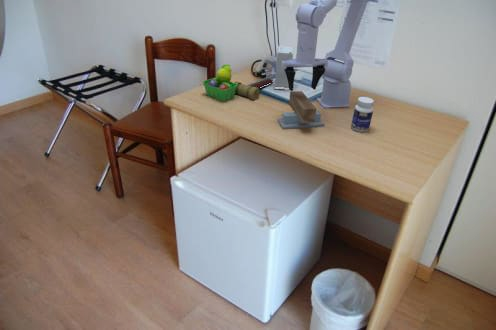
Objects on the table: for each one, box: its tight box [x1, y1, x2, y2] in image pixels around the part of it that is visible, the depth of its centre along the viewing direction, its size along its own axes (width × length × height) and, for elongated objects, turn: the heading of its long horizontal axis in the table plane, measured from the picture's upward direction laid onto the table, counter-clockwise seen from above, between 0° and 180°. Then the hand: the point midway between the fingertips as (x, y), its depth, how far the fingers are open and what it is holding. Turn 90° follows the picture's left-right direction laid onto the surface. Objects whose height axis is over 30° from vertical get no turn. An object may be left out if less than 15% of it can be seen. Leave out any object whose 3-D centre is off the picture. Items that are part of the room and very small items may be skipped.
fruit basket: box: [202, 63, 238, 102], centre depth 145 cm, size 11×9×11 cm
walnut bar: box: [288, 90, 317, 123], centre depth 129 cm, size 4×14×4 cm, turn 12°
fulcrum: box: [277, 110, 326, 130], centre depth 130 cm, size 14×6×4 cm, turn 102°
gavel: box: [233, 78, 274, 101], centre depth 154 cm, size 21×5×10 cm
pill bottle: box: [350, 96, 374, 133], centre depth 127 cm, size 6×6×10 cm
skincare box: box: [273, 45, 294, 88], centre depth 154 cm, size 8×6×15 cm
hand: (302, 89), depth 129 cm, fingers open, 7 cm apart
